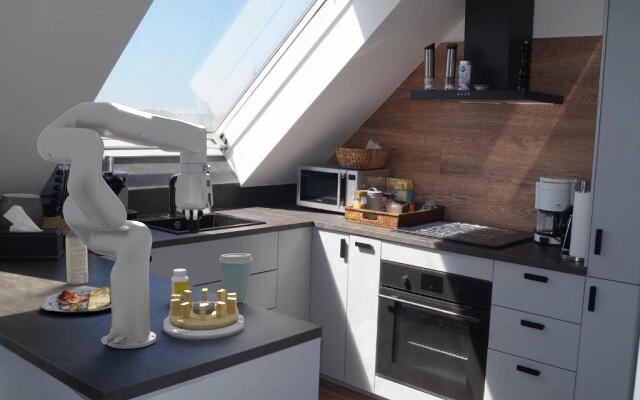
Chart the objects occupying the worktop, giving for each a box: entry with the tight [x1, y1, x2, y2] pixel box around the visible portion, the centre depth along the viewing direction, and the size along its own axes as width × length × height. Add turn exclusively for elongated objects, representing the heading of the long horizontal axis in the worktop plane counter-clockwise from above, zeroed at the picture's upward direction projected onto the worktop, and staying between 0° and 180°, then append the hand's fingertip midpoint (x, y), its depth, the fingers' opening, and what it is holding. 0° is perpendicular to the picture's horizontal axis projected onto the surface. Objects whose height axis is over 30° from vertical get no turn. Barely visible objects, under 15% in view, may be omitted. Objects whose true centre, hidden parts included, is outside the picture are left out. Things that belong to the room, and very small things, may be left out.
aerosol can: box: [65, 229, 89, 286], centre depth 245 cm, size 7×7×20 cm
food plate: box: [41, 286, 111, 314], centre depth 219 cm, size 25×23×4 cm
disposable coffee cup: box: [218, 252, 254, 304], centre depth 225 cm, size 11×11×15 cm
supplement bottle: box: [170, 268, 190, 303], centre depth 225 cm, size 5×5×10 cm
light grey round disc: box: [163, 313, 245, 341], centre depth 198 cm, size 22×22×2 cm
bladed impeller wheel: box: [168, 287, 240, 330], centre depth 198 cm, size 19×19×6 cm
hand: (193, 232), depth 206 cm, fingers closed
